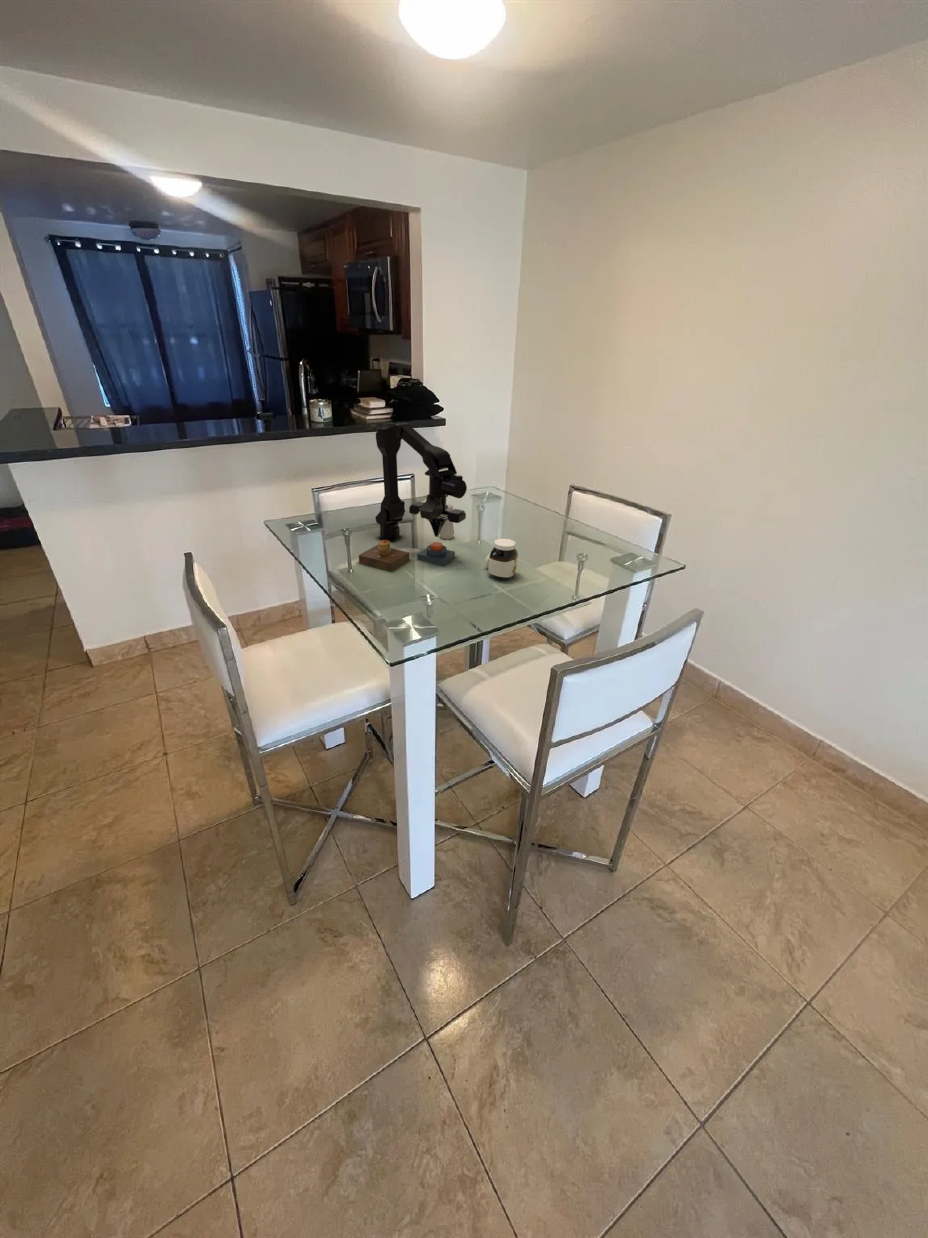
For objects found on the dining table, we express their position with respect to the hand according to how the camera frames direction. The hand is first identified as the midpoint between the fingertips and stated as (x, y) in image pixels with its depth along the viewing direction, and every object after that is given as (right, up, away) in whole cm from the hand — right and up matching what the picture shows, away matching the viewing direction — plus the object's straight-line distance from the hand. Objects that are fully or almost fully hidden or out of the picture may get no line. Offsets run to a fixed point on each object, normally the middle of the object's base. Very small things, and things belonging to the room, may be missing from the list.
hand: (436, 536), depth 174 cm
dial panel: (-18, -9, -1) cm, 20 cm away
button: (0, -4, +2) cm, 5 cm away
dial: (-18, -6, -2) cm, 19 cm away
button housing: (0, -7, +4) cm, 8 cm away
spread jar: (+21, -13, -4) cm, 25 cm away
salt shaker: (+2, +3, +22) cm, 23 cm away
